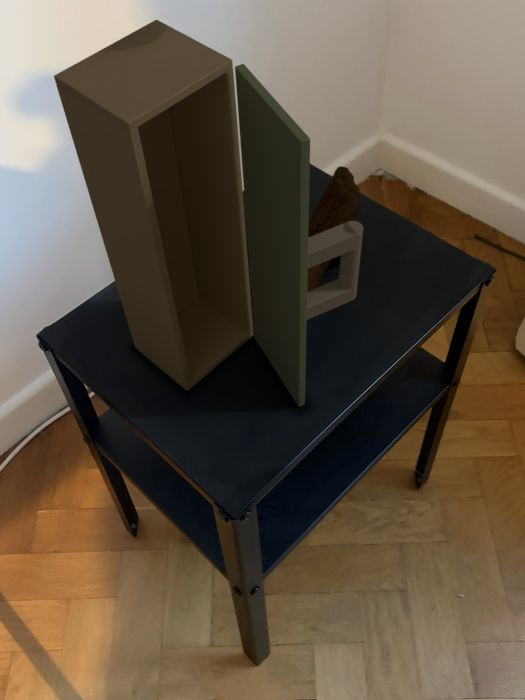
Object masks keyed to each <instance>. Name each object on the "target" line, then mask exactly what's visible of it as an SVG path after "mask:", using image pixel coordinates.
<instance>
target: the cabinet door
mask: <svg viewBox="0 0 525 700" xmlns="http://www.w3.org/2000/svg"><path fill="white" fill-rule="evenodd" d="M234 70H235V71H234V72H235V74H234V75H235V85H236V87H235V89H236V99H237V102H236V103H237V114H238V115H237V116H238V129H239V141H240V142H239V143H240V156H241V166H242V167H241V170H242V183H243V197H244V210H245V224H246V237H247V250H248V264H249V274H250V276H251V290H252V296H251V304H252V318H253V331H254V339H255V341H256V343H257V344H258V345H259V348H260V349H261V350H262V352H263V354H264V355H265V357H266V358H267V360H268V361H269V363H270V364H271V366H272V367H273V370H274V371H275V373H276V374H277V375H278V377H279V378H280V380H281V382H282V384H283V385H284V387H285V388H286V390H287V391H288V393H289V394H290V395H291V397H292V399H293V400H294V402H295V403H296V405H297V407H299V408H300V407H303V406H305V405H306V374H307V373H306V371H307V370H306V369H307V323H308V322H307V321H309V320H311V319H313V318H315V317H318V316H320V315H322V314H324V313H326V312H329V311H331V310H334V309H336V308H338V307H340V306H343V305H345V304H347V303H350V302H352V301H354V300H355V299H356V298H357V295H358V285H359V284H358V283H359V275H360V267H361V266H360V264H361V255H362V245H363V236H364V226H363V224H362V223H361V222H359V221H358V222H357V221H349V222H346V223H344V224H341V225H339V226H336V227H334V228H331V229H329V230H326V231H324V232H321V233H319V234H316V235H314V236H311V237H309V238H308V226H309V220H310V177H311V175H310V174H311V173H310V171H311V168H310V167H311V166H310V165H311V137H309V135H308V134H307V133H305V131H304V130H303V129H302V128H301V126H299V124H298V123H297V122H296V121H295V120H294V119H293V118H292V116H291V115H289V113H288V112H287V111H286V110H285V108H284V107H283V106H282V105H281V104H280V103H279V102H278V101H277V99H276V98H275V97H274V96H273V95H272V94H271V93H270V91H268V89H267V88H265V87H266V86H264V85H263V84H262V83H261V81H260V80H259V79H258V78H257V77H256V76H255V75H254V74H253V73H252V72H251V70H250V69H249V68H248V67H247V66H246V64H244V63H241V64H237V65H235V66H234ZM340 255H341V257H339V258H340V260H339V273H338V278H337V279H335V280H333V281H330V282H328V283H325V284H323V285H319V287H318V288H316V289H313V290H311V291H309V292H307V276H308V269H309V268H311V267H313V266H316V265H318V264H321V263H323V262H326V261H328V260H330V259H333V258H335V257H338V256H340ZM330 261H331V260H330Z"/></svg>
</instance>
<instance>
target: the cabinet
mask: <svg viewBox="0 0 525 700" xmlns="http://www.w3.org/2000/svg"><path fill="white" fill-rule="evenodd" d="M234 75H235V74H234V63H233V59H231V58H230V57H229V56H226V55H224V54H223V53H220V52H219V51H216V50H214V49H213V48H211V47H209V46H207V45H205V44H204V43H201V42H200V41H198V40H196V39H194V38H192V37H190V36H188V35H187V34H185V33H183V32H181V31H179V30H178V29H175V28H174V27H172V26H170V25H168V24H166V23H164V22H163V21H161V20H159V19H154V20H152V21H151V22H149V23H147V24H146V25H143V26H142V27H140V28H138V29H136V30H135V31H133V32H130V33H129V34H127V35H126V36H124V37H122V38H120V39H118V40H117V41H114V42H113V43H111V44H109V45H107V46H105V47H104V48H102V49H100V50H98V51H96V52H94V53H92V54H90V55H88V56H87V57H85V58H83V59H82V60H79V61H78V62H77V63H74V64H72V65H71V66H69V67H67V68H65V69H63V70H61V71H60V72H58V73H56V74H55V75H53V79H54V81H55V84H56V85H55V86H56V89H57V92H58V96H59V99H60V102H61V105H62V109H63V113H64V115H65V119H66V123H67V126H68V129H69V132H70V135H71V138H72V143H73V146H74V149H75V152H76V155H77V159H78V163H79V166H80V168H81V172H82V175H83V179H84V182H85V187H86V189H87V193H88V195H89V198H90V199H89V200H90V203H91V206H92V208H93V212H94V216H95V219H96V222H97V225H98V229H99V231H100V236H101V239H102V242H103V245H104V249H105V251H106V255H107V259H108V262H109V266H110V269H111V272H112V275H113V278H114V282H115V285H116V288H117V292H118V295H119V298H120V302H121V305H122V309H123V311H124V315H125V318H126V321H127V325H128V328H129V332H130V336H131V339H132V342H133V345H134V348H135V349H137V350H138V351H139V352H140V353H141V354H143V356H145V357H146V358H147V359H148V360H149V361H151V363H153V364H154V365H155V366H157V367H158V368H159V369H160V370H161V371H163V372H164V373H165V374H166V375H167V376H168V377H170V378H171V379H172V380H173V381H174V382H176V383H177V384H178V385H179V386H180V387H182V388H183V389H184V390H185V391H187V392H188V391H189V390H191V389H192V388H193V387H194V386H195V385H196V384H197V383H199V382H200V381H202V379H203V378H204V377H206V376H207V375H208V374H210V373H211V372H212V371H213V370H214V369H216V367H217V366H219V365H220V364H222V362H224V361H225V360H226V359H227V358H228V357H230V356H231V355H232V354H234V352H236V351H237V350H238V349H239V348H240V347H242V345H244V344H245V343H246V342H248V341H249V340H250V339H251V338H252V337H253V336H255V333H254V320H253V307H252V296H251V295H250V282H249V274H250V268H249V255H248V242H247V229H246V216H245V203H244V190H243V177H242V167H241V166H242V164H241V151H240V142H239V141H240V138H239V125H238V115H237V114H238V112H237V102H236V87H235V76H234Z"/></svg>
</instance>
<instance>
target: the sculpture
mask: <svg viewBox="0 0 525 700" xmlns="http://www.w3.org/2000/svg"><path fill="white" fill-rule="evenodd" d="M360 197H361V193H360V188H359V186H358V185H357V183H356V182H355V176H354V175H353V173H352V172H351V171H350V170H349V167H345V166H338V167H337V168H335V171H334V173H333V175H332V177H331V179H330V181H329V182H328V184H327V188H326V189H325V191H324V193H323V195H322V196H321V197H320V199H319V201H318V203H317V205H316V207H315V208H314V210H313V211H312V213H311V215H310V216H309V226H308V238H309V237H311V236H314V235H316V234H319V233H321V232H324V231H326V230H329V229H331V228H334V227H336V226H339V225H341V224H344V223H346V222H349V221H357V222H359V214H360V200H361V198H360ZM339 258H341V255H340V256H338V257H335V258H333V259H330V260H328V261H326V262H323V263H321V264H318V265H316V266H313V267H311V268H309V269H308V276H307V292H309V291H311V290H313V289H316V288H318V287H320V286H321V283H322V279H323V277H324V274H325V271H326V269H327V268H328V267H329V266H330V264H331V261H334V260H336V259H339ZM249 282H250V295H251V297H252V290H251V276H250V273H249Z"/></svg>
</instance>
